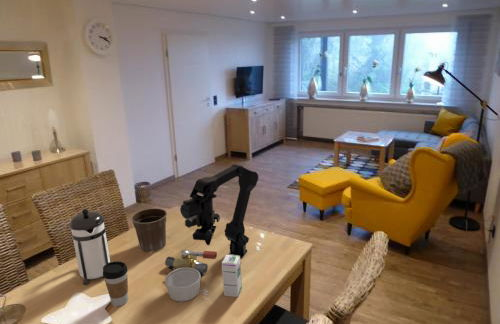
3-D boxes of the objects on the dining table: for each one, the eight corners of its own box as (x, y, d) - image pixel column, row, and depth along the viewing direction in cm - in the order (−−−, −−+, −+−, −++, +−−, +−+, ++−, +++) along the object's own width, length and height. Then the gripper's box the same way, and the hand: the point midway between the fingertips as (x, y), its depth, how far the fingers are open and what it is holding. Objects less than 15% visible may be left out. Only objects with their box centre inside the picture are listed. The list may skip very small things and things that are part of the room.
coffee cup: (111, 294, 134) (106, 260, 130) (134, 293, 135) (129, 258, 131) (104, 309, 126) (98, 273, 122) (128, 307, 127) (123, 272, 123)
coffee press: (124, 266, 152) (114, 202, 144) (98, 288, 138) (86, 219, 129) (91, 260, 158) (80, 198, 149) (63, 281, 143) (49, 214, 134)
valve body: (209, 270, 148) (208, 255, 146) (202, 278, 143) (201, 263, 141) (172, 262, 154) (170, 248, 152) (164, 270, 149) (162, 256, 147)
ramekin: (182, 278, 143) (181, 263, 141) (208, 288, 137) (207, 272, 135) (159, 297, 132) (157, 281, 130) (186, 308, 126) (185, 292, 124)
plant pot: (127, 251, 164) (123, 219, 160) (149, 235, 179) (145, 206, 174) (156, 257, 159) (152, 225, 154) (176, 240, 173) (173, 210, 168)
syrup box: (238, 297, 131) (237, 263, 127) (223, 295, 132) (221, 262, 128) (241, 288, 136) (240, 255, 132) (227, 286, 137) (225, 253, 133)
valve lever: (180, 257, 145) (179, 252, 144) (183, 252, 148) (182, 248, 147) (215, 259, 142) (214, 255, 142) (217, 255, 145) (216, 251, 145)
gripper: (194, 200, 150) (196, 232, 155) (178, 219, 133) (181, 255, 137) (219, 201, 149) (221, 234, 153) (206, 220, 131) (209, 257, 135)
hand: (208, 244), depth 145 cm, fingers closed
